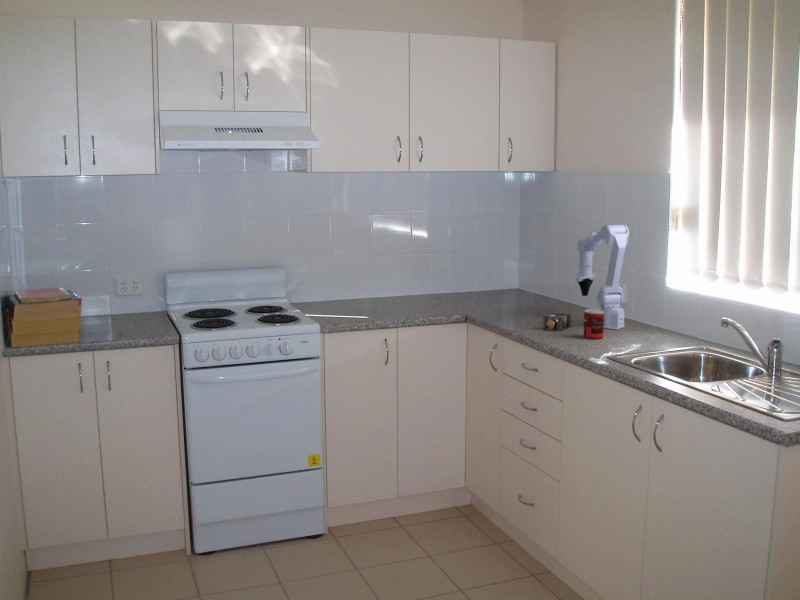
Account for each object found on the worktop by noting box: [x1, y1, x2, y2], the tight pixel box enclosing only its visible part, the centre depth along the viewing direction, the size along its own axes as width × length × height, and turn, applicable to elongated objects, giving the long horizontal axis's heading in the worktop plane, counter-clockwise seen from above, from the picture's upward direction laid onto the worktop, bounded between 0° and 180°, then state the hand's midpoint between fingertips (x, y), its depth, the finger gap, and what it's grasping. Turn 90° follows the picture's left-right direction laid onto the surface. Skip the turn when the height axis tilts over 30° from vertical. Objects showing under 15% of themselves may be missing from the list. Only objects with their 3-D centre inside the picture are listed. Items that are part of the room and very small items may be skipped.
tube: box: [546, 314, 575, 329], centre depth 354 cm, size 4×18×4 cm, turn 140°
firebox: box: [541, 311, 573, 332], centre depth 352 cm, size 8×12×6 cm, turn 140°
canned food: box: [583, 308, 605, 341], centre depth 332 cm, size 8×8×11 cm
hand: (584, 295), depth 373 cm, fingers closed
